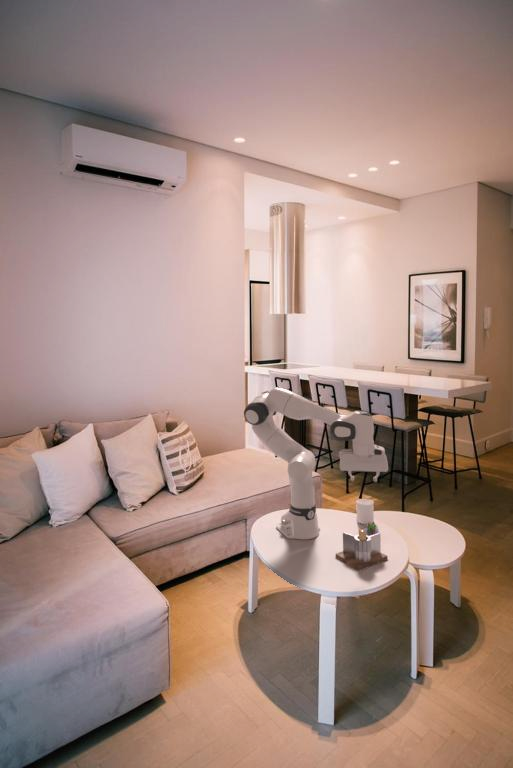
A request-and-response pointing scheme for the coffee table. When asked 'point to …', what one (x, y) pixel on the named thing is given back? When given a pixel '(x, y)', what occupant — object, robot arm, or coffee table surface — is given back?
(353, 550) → the grey socket block
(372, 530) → the geometric puzzle
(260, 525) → the coffee table surface
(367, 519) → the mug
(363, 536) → the pin
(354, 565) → the base board
